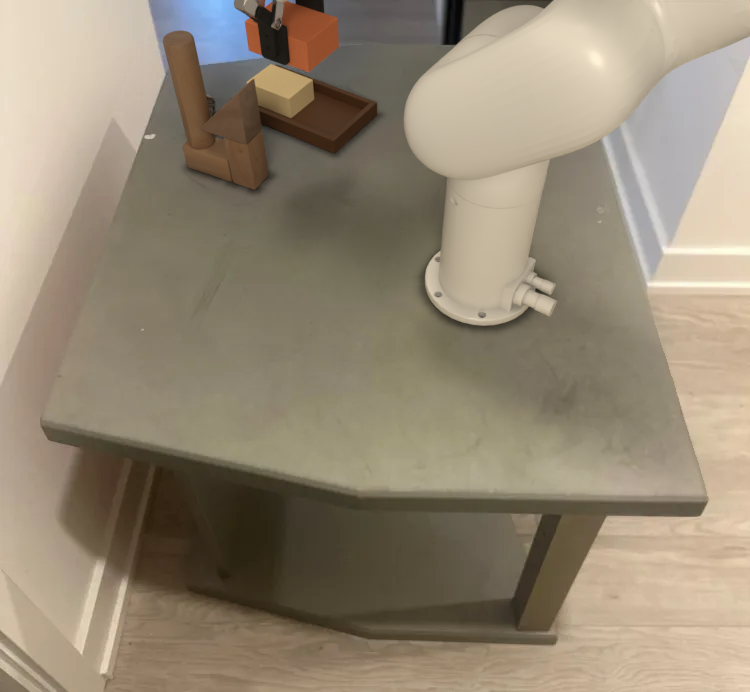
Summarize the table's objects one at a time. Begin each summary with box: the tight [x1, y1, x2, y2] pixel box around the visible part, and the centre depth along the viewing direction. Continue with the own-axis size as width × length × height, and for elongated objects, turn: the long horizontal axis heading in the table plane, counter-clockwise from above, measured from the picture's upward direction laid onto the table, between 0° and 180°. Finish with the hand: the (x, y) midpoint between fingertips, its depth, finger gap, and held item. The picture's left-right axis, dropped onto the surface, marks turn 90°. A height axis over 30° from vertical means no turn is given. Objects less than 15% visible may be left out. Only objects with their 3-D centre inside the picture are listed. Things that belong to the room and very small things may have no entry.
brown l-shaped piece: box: [162, 30, 269, 190], centre depth 91 cm, size 4×11×18 cm, turn 64°
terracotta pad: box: [244, 0, 340, 73], centre depth 76 cm, size 8×6×3 cm
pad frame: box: [230, 63, 378, 154], centre depth 105 cm, size 18×11×2 cm, turn 57°
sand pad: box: [245, 63, 314, 118], centre depth 106 cm, size 8×6×3 cm
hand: (294, 44), depth 77 cm, fingers closed on terracotta pad, 5 cm apart
